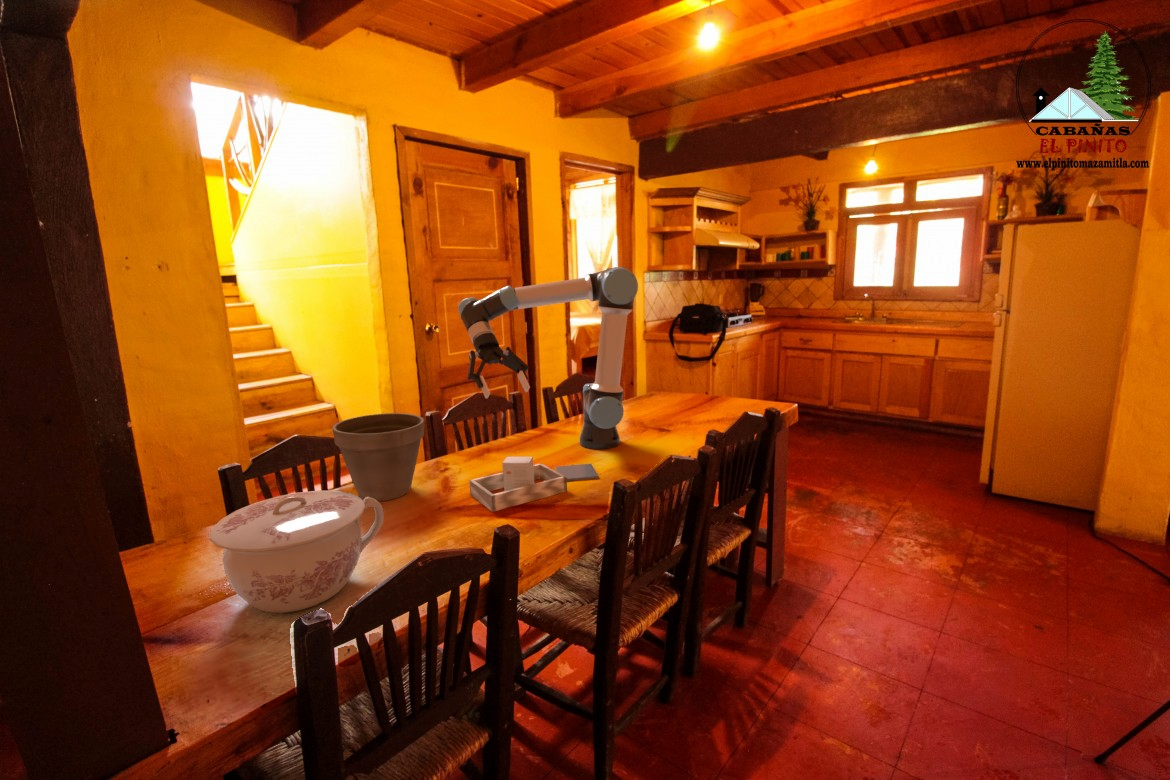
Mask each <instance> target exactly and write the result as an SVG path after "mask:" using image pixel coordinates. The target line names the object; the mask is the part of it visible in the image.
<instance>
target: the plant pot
mask: <svg viewBox="0 0 1170 780" xmlns="http://www.w3.org/2000/svg"><path fill="white" fill-rule="evenodd" d="M332 432H333V439H334V441H333V442H334V444H335V446H336V447H338V448H339V450H340V453H341V455H342V458H343V460H344V463H345V466H346V469H347V471H348V473H349V477H350V478H351V482H352V483H353V486H354V488H355V490H356V492H357V496H358V497H360V498H361V499H363V500H364V498H365V497H371V498H374V499H375V500H377V501H378V502H384V501H390V500H395V499H397V498H401V497H403V496H405V495H407V494H408V493H409V492H410V490H411V487H412V483H413V478H414V474H415V470H416V467H417V460H418V457H419V456H418V455H419V450H420V445H421V440H422V439H423V438H424V436H425V420H424V417H422V416H420V415H417V414H411V413H401V412H393V413H388V412H386V413H376V414H367V415H362V416H361V415H360V416H355V417H351V418H347V419H344V420H342V421H341V420H340V421H339V422H337V423H335V424H334V425H333V426H332Z"/></svg>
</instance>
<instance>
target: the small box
mask: <svg viewBox="0 0 1170 780" xmlns="http://www.w3.org/2000/svg"><path fill="white" fill-rule="evenodd" d="M533 465H534V457H533V456H506V457H505V459H504V460H503V462H502V472H503V480H504V488H503V492H504V491H508V490H512V489H516V488H519V487H523V486H527V485H531V484H535V480H534V470H533Z"/></svg>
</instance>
